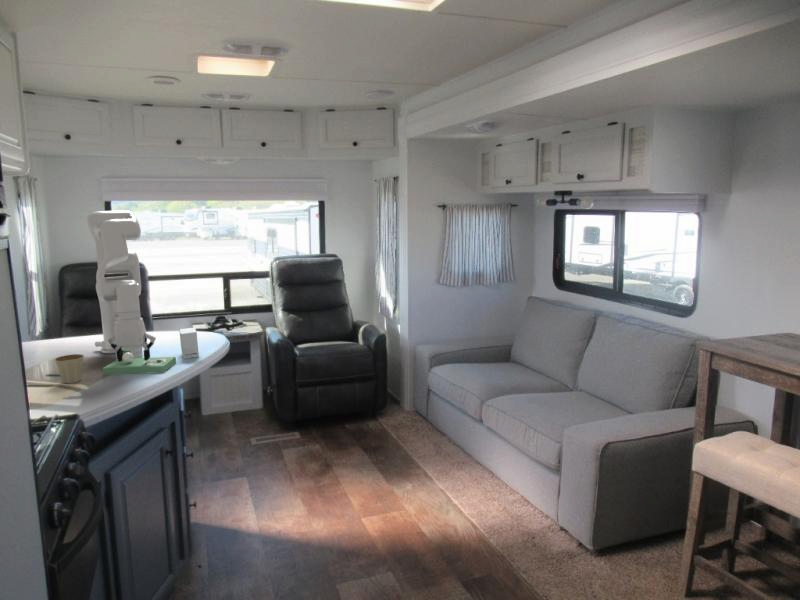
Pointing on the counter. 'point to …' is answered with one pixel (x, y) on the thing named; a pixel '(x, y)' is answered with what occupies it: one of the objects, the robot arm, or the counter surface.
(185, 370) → the counter surface
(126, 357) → the ball
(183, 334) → the skincare box
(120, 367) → the putting mat
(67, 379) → the flower pot
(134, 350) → the skincare box
